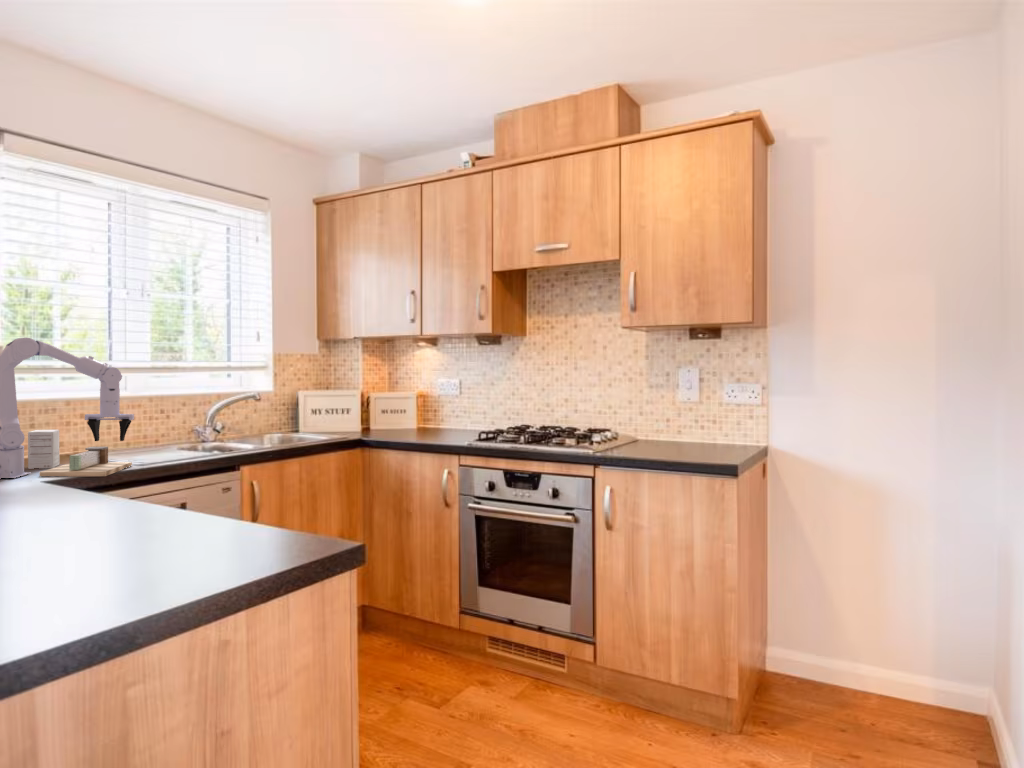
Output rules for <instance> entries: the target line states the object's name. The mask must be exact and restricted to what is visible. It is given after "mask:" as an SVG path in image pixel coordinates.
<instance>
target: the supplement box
mask: <svg viewBox="0 0 1024 768" xmlns="http://www.w3.org/2000/svg"><path fill="white" fill-rule="evenodd" d="M59 466H60V429H34V430H32V431H27V469H31V470H33V469H34V468H39V469H52V468H55V467H59Z"/></svg>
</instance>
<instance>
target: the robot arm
mask: <svg viewBox="0 0 1024 768" xmlns="http://www.w3.org/2000/svg"><path fill="white" fill-rule="evenodd" d="M34 356H35V357H36V356H39V357H40V356H42V357H43V356H44V357H45V356H47V357H49V358H53V359H55V360H58V361H60V362H63V363H65V364H68V365H71V366H74V369H75V370H76V372H78V373H81V374H83V375H85V376H88V377H90V378H93V379H95V380H99V381H100V387H99V388H100V389H99V413H86V414H84V421H87V422H86V423H87V425H88V426H89V429H90V430H91V432H92V435H93V439H94V442H98V441H100V425H101V421H118V423H119V441H120V442H123V441H125V437H126V434H127V431H128V429H129V427H130V425H131V423H132V421H133V420H135V414H134V413H120V400H121V398H120V395H121V394H120V382H121V381H122V379H123V375H122V373H121V370H119V369H118V368H116V367H112V366H109V363H107V362H104V363H103V362H100V361H98V360H96V359H95V358H94V356H91V355H89V356H87V355H83V356H80V357H79V356H76V355H74V354H72V353H70V352H68V351H65V350H63V349H61V348H59V347H57V346H54V345H52V344H49V343H46V342H44V341H40V340H35V339H33V338H31V337H19V338H15V339H13V340H12V341H10V342H8V343H7V344H6V345H5V346H4V348H3V350H2V351H1V352H0V480H2V479H1V478H14V479H17V478H19V477H20V476H21V477H24V476H27V474H28V475H31V472H29V471H28V472H27V471H26V472H25V445H23V443H24V442H25V438H26V437H25V434H24V432H23V431H22V430H21V424H20V421H19V420H20V419H19V416H18V415H19V414H18V412H19V411H18V400H17V390H16V377H15V368H16V367H17V366H18V365H20V364H21V363H23V361H25V360H28V359H29V358H30V359H31V358H33V357H34ZM16 477H17V478H16Z"/></svg>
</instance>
